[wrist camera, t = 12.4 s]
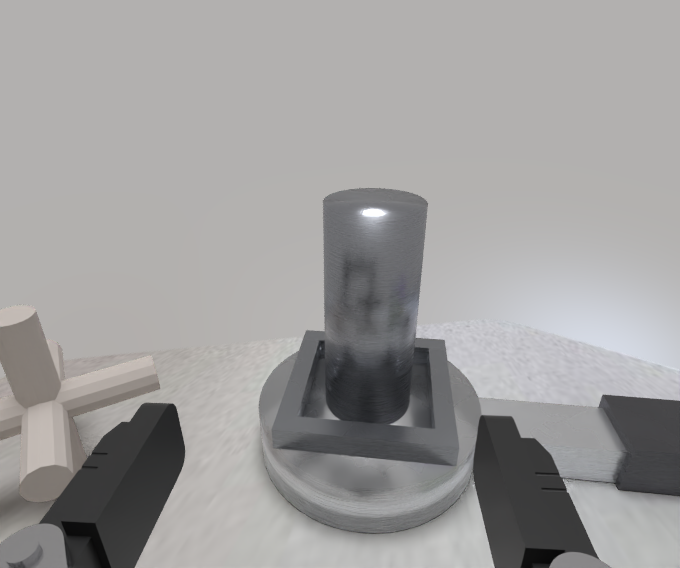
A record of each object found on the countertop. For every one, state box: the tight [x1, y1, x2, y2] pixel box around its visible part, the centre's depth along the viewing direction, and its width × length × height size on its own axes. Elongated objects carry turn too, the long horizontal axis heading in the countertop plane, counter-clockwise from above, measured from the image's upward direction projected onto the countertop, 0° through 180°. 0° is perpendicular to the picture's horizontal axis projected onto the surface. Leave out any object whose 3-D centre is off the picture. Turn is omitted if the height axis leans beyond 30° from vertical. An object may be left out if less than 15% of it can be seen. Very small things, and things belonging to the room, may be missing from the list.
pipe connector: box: [0, 305, 160, 503], centre depth 22 cm, size 10×10×10 cm
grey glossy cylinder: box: [323, 188, 428, 425], centre depth 23 cm, size 5×5×11 cm
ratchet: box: [259, 331, 680, 533], centre depth 25 cm, size 27×12×4 cm, turn 83°
